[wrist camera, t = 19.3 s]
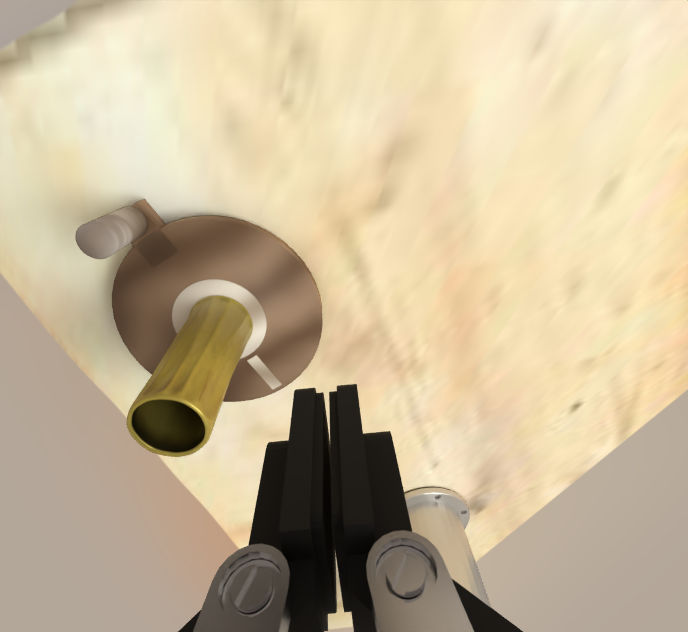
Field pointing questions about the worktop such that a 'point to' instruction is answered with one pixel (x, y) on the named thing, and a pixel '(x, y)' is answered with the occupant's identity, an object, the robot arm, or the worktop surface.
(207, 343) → the vase
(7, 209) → the worktop surface
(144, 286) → the turntable
